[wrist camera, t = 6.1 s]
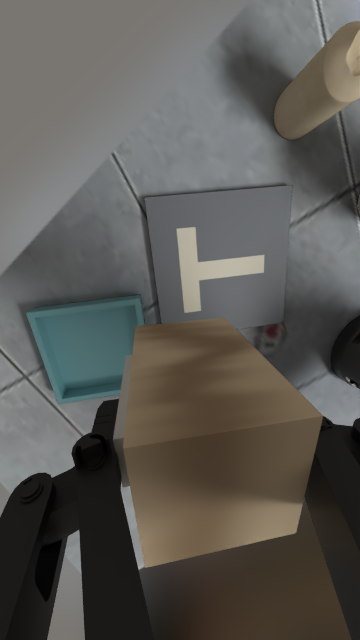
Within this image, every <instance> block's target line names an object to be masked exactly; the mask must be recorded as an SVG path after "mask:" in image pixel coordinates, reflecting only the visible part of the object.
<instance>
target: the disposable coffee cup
mask: <svg viewBox="0 0 360 640" xmlns="http://www.w3.org/2000/svg"><path fill="white" fill-rule="evenodd" d="M357 208H358V212H359V215H360V195H359V199H358V205H357Z"/></svg>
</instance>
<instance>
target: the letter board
mask: <svg viewBox="0 0 360 640" xmlns="http://www.w3.org/2000/svg"><path fill="white" fill-rule="evenodd" d="M292 188H293V185H289V186H277V187H265V188H253V189H241V190H229V191H218V192H206V193H194V194H182V195H170V196H158V197H147V198H145V206H146V213H147V221H148V228H149V235H150V243H151V250H152V258H153V265H154V273H155V280H156V288H157V295H158V302H159V310H160V317H161V324H164V323H175V322H185V321H195V320H206V319H216V318H225V319H226V320H227V321H228V322H229V323H230V324H231V325H232V326H233V327H234V328H235V329H243V328H250V327H257V326H264V325H271V324H278V323H283V317H284V303H285V288H286V274H287V260H288V245H289V231H290V216H291V202H292Z"/></svg>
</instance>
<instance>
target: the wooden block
mask: <svg viewBox="0 0 360 640" xmlns="http://www.w3.org/2000/svg"><path fill="white" fill-rule="evenodd" d="M322 419H323V415H322V414H321V413H320V412H319V411H318V410H317V409H316V408H315V407H314V406H313V405H312V404H311V403H310V402H309V401H308V400H307V399H306V398H305V397H304V396H303V395H302V394H301V393H300V392H299V391H298V390H297V389H296V388H295V387H294V386H293V385H292V384H291V383H290V382H289V381H288V380H287V379H286V378H285V377H284V376H283V375H282V374H281V373H280V372H279V371H278V370H277V369H276V368H275V367H274V366H273V365H272V364H271V363H270V362H269V361H268V360H267V359H266V358H265V357H264V356H263V355H262V354H261V353H260V352H259V351H258V350H257V349H256V348H255V347H254V346H253V345H251V344H250V343H249V342H248V341H247V340H246V339H245V338H244V337H243V336H242V335H241V334H240V333H239V332H238V331H237V330H236V329H235V328H234V327H233V326H232V325H231V324H230V323H229V322H228V321H227V320H226V319H225V318H216V319H206V320H195V321H185V322H175V323H164V324H154V325H144V326H135V335H134V345H133V355H132V364H131V374H130V384H129V394H128V404H127V414H126V424H125V434H124V444H123V451H124V457H125V462H126V467H127V473H128V478H129V483H130V489H131V494H132V500H133V505H134V510H135V516H136V521H137V527H138V532H139V537H140V543H141V548H142V553H143V559H144V564H145V567H151V566H155V565H159V564H164V563H168V562H172V561H176V560H181V559H185V558H190V557H194V556H198V555H203V554H207V553H211V552H216V551H220V550H224V549H228V548H233V547H237V546H241V545H246V544H250V543H254V542H259V541H263V540H267V539H272V538H276V537H280V536H285V535H289V534H293V533H296V530H297V526H298V522H299V518H300V513H301V509H302V504H303V500H304V496H305V492H306V488H307V483H308V479H309V475H310V470H311V466H312V462H313V458H314V453H315V449H316V445H317V441H318V436H319V432H320V428H321V423H322Z"/></svg>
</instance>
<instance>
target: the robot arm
mask: <svg viewBox="0 0 360 640" xmlns="http://www.w3.org/2000/svg"><path fill="white" fill-rule="evenodd" d="M331 363H332V367H333V370H334V372H335V373H336V375H337V376H338V377H340V378H341V379H342V380H344V381H345V382H347V383H348V384H350V385H351V386H354V387H356V388H359V389H360V317H358V318H356V319H355V320H354V321H352V322H351V323H350V324H349V325H348V326H347V327H346V328H345V329H344V330H343V331H342V332H341V334H340V335H339V337H338V338H337V340H336V342H335V345H334V347H333V350H332V356H331ZM131 364H132V355H126V358H125V365H124V371H123V378H122V384H121V391H120V397H119V399H115V400H108V401H103V403H102V404H101V405H100V407H99V408H98V410H97V414H96V418H95V421H94V425H93V428H92V432H91V433H88V434H86V435H84V436H83V437H81V438H80V439H79V440H78V441H77V442H76V444H75V445H74V447H73V449H72V457H73V460H74V463H75V466H74V467H73V468H72V469H70V470H68V471H66V472H64V473H62V474H60V475H57V476H55V477H53V478H52V477H51V475H49V474H47V473H37V474H34V475H32V476H30V477H28V478H27V479H25V480H24V481H22V482H21V483H20V484H19V485H18V486H17V487H16V488H15V489H14V491H13V492H12V494H11V496H10V497H9V500H8V502H7V504H6V506H5V508H4V510H3V513H2V515H1V517H0V640H47V637H48V632H49V627H50V622H51V617H52V613H53V608H54V603H55V597H56V593H57V588H58V583H59V578H60V573H61V568H62V563H63V558H64V553H65V548H66V543H67V538H68V536H69V535H71V534H72V533H74V532H76V531H77V530H79V531H80V551H81V570H82V589H83V609H84V629H85V640H154V637H153V633H152V629H151V624H150V620H149V615H148V611H147V606H146V602H145V597H144V593H143V588H142V584H141V579H140V575H139V571H138V566H137V562H136V557H135V553H134V548H133V544H132V539H131V535H130V530H129V526H128V522H127V517H126V513H125V508H124V504H123V499H122V495H121V490H120V489H121V482H122V486H123V487H127V486H130V483H129V478H128V473H127V467H126V462H125V457H124V451H123V444H124V434H125V424H126V414H127V404H128V394H129V384H130V374H131ZM304 497H305V500H306V503H307V506H308V509H309V512H310V515H311V518H312V521H313V524H314V527H315V530H316V533H317V536H318V539H319V542H320V546H321V549H322V552H323V555H324V558H325V560H326V564H327V567H328V569H329V573H330V576H331V578H332V582H333V585H334V588H335V591H336V593H337V597H338V600H339V603H340V606H341V609H342V612H343V615H344V618H345V621H346V624H347V627H348V630H349V633H350V636H351V639H352V640H360V418H359V419H356V420H355V421H354V424H353V426H344V425H336V424H333V423H332V422H331V421H330V420H329V419H327V418H326V417H324V416H323V419H322V423H321V428H320V432H319V436H318V441H317V445H316V449H315V453H314V458H313V462H312V466H311V470H310V475H309V479H308V483H307V488H306V492H305V496H304Z"/></svg>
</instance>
